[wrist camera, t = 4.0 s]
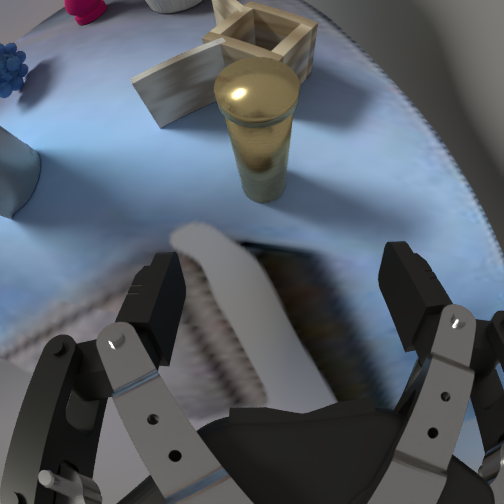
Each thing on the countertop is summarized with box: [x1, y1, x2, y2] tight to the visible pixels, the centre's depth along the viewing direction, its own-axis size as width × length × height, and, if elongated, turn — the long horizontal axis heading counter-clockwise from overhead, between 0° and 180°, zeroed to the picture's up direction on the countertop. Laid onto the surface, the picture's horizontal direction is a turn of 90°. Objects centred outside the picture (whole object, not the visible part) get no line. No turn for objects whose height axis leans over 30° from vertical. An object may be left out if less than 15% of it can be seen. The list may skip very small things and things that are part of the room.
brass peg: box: [214, 57, 300, 203], centre depth 20 cm, size 4×4×14 cm
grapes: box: [0, 43, 28, 98], centre depth 27 cm, size 12×7×12 cm, turn 1°
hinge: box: [130, 0, 318, 128], centre depth 26 cm, size 18×15×8 cm
